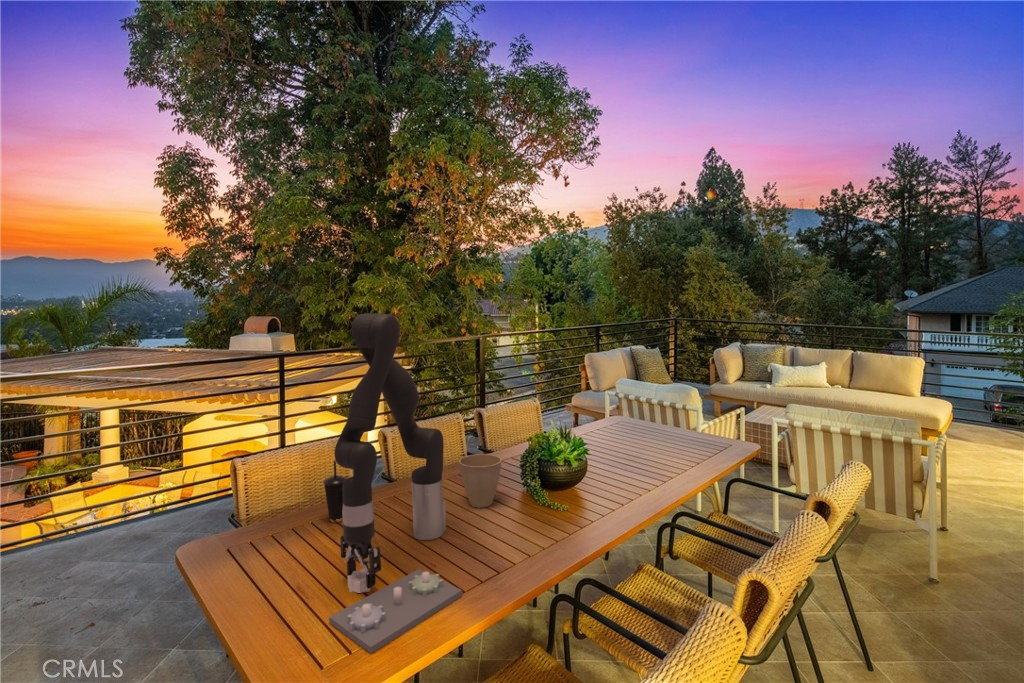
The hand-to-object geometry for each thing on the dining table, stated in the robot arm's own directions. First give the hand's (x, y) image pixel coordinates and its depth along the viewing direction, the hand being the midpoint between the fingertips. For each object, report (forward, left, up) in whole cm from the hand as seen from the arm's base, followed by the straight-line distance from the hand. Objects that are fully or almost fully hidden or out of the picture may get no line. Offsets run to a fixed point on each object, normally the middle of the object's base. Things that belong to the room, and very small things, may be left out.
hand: (361, 580), depth 128 cm
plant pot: (-57, -12, -2) cm, 58 cm away
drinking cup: (-18, -41, -2) cm, 45 cm away
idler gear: (0, 0, -2) cm, 2 cm away
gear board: (0, +15, -2) cm, 15 cm away
